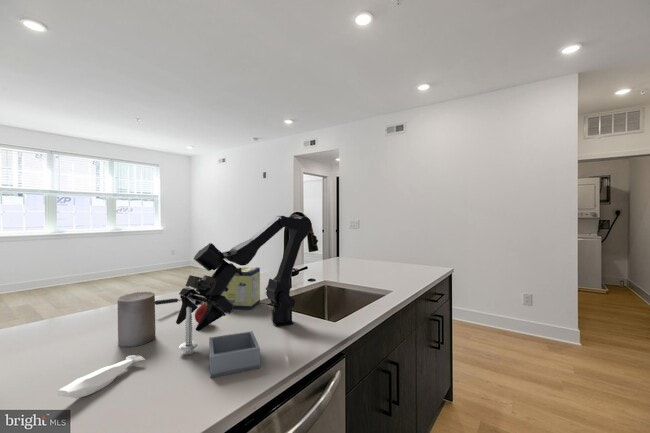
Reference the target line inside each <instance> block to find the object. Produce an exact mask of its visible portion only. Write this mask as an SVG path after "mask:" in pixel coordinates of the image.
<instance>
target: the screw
mask: <svg viewBox="0 0 650 433" xmlns="http://www.w3.org/2000/svg"><path fill="white" fill-rule="evenodd" d="M184 321H185V325H184V326H185V327H184V328H185V341H184V342H182V343H181V344H180V345H179V346H178V349H179V350H180V351H182V353H183V354H184V355H185V356H188V355H192V354H193V353H195V349H196V348H197V347H198V346H199V342H197V341H196V340H193V328H194V327H193V314H192V313H191V307H187V308H186V319H185V320H184Z"/></svg>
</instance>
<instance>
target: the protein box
mask: <svg viewBox="0 0 650 433" xmlns="http://www.w3.org/2000/svg"><path fill="white" fill-rule="evenodd" d="M236 267H237V268H241V271H242V274H243V275H242V276H234V277H233V279H232V280H231V282H230V283H229V284H228V286H227V288H228V289H229V290H228V291H227V292H225V291H224V292H223V293H222V296H225V297H226V298H227V299H228V300H229V301H230V302H231V303H232V304H233V310H247V311H248V310H252V309H254V307H256V306H257V305H258V304H260V302H261V268H260V267H257V266H256V267H255V266H254V267H252V266H251V267H249V266H248V267H247V266H244V267H243V266H242V267H241V266H236Z"/></svg>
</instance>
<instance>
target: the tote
mask: <svg viewBox="0 0 650 433" xmlns="http://www.w3.org/2000/svg"><path fill="white" fill-rule="evenodd" d="M208 341H209V342H208V356H209V359H208V360H209V376H210V378H211V379H212V378H217V377H222V376H226V375H232V374H237V373H242V372H246V371H251V370H255V369H260V368H261V348H260V345H259V342H258V340H257V338H256V336H255V333H254V331H253V330H250V331H244V332H238V333H237V332H236V333H231V334H230V333H229V334H224V335H219V336H218V335H217V336H212V337H209V338H208Z"/></svg>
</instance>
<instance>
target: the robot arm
mask: <svg viewBox="0 0 650 433" xmlns="http://www.w3.org/2000/svg"><path fill="white" fill-rule="evenodd" d="M312 226H313V224H312V221H311V219H310V218H309V217H307V216H294V217H290V216H289V217H288V216H285V215H276V216H275V217H274V218H273V219H272V220H271V221H270V222H268V223H267V224H266V225H265V226H264V227H262V228H261V229H260V230H258V232H256V233H255V234H254V235H252V236H251V237H250V238H249V239H247V240H245V241H243V242H240V243H238V244H237V245H235V246H233V247H232V248H230V250H227V251H223V252H221V250H219V249H218V248H217V247H216V245H215V244H214V243H211V242H209V243H208V244H207V245H206V246H204V247H202V248H201V249H199V250H198V252H197V253H195V255H194V257H193V260H194V261H195V262H197V264H199V265H200V266H202V267H203V268H204V269H205V270H206V271H208V272H210V271H214V272H213V274H211V276H210V275H206V274H205V275H204V276H203V277H200V276H196V275H190V274H189V276H188V278H187V280H186V283H185V285H184V286H185V287H183V288H182V289H181V291H180V292H179V293H178V295H179V299H180V298H181V299H182V301H181V306H180V309H179V313H178V316H177V318H176V320H175V323H176V325H180V324H182V323H183V322H184V321H186V308H187V307H191V314H192V313H193V312H196V310H197V309H198V308H199V305H200V304H203V303H206V305H207V310H206V312H205V314H204V315H203V317H202V319H201V320H200V322H199V323H197V326H196V328H195V331H196V332H201V331H202V330H203V329H205V328H206V327H208V326H209V325H211V324H212V323H213V322H216V321H217V320H218V319H221V318H222V317H225V316H227V315H230V314H231V313H232V311H233V310H234V309H233V304H232V303H231V302H230V301H229V300H228V299H227V298H226V297H225V296H222V293H223V292H224V291H225V292H227V291H228V290H229V289H228V288H227V286H228V284H229V283H230V282H231V280H232V279H233V277H234V276H242V275H243V274H242V271H241V268H237V267H238V266H242V267H243V266H248V264H250V262H251V261H252V260H253V259H254V258H255V256H256V254H257V253H258V251H259V250H260V248H261V247H262V246H264V245H265V244H266V243H267V242H268V241H270V239H271V238H273V237H274V236H275V235H276V234H277V233H279V231H281V230H282V229H283V228H288V237H289V238H288V241H287V245H286V246H285V250H284V253H283V256H282V258H281V262H280V265H279V267H278V271H277V273H276V275H275V277H274V278H273V279H272V278H269V279H268V283H267V285H266V288H265V290H266V292H265V294H266V298H267V299H268V300H270V303H271V304H272V309H271V322H272V323H273V325H274V326H275V327H281V326H288V325H293V324H294V321H293V308H294V307H295V304H296V300H295V299H294V298H293V297H292V296H291V295H290V293H291V281H290V279H291V276H292V272H293V270H294V267H295V265H296V260H297V257H298V254H299V251H300V248H301V244H302V242H303V241H304V240H305V239H306V238H307V237H308V235H309V233H310V231H311V230H312ZM227 261H229V262H230V263H229V262H227ZM235 264H236V265H238V266H236V265H235ZM193 288H196V291H197V292H196V291H195V290H194V289H193ZM198 292H199V293H200V294H199V293H198ZM201 302H203V303H201Z"/></svg>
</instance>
